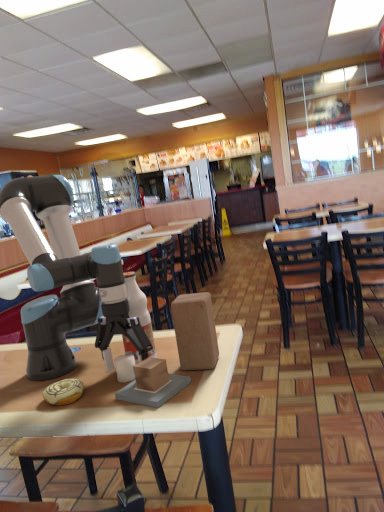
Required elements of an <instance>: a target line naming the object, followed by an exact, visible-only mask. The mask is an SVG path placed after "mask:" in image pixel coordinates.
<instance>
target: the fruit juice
mask: <svg viewBox="0 0 384 512" xmlns="http://www.w3.org/2000/svg"><path fill="white" fill-rule="evenodd" d="M123 274H124V280H125V286H126V291H127V297H126V298H127V299H128V302H129V307H130V311H129V317H130V318H134V317H136V316H138V317H139V321H140V324H141V326H142V328H143V330H144V331H145V333H146V335H147V337H148V339H149V340H150V342H151V344H152V346H153V349H152V350H150V351H148V357H151V358H157V357H158V356H157V349H156V343H155V338H154V332H153V327H152V326H153V325H152V319H151V315H150V312H149V310H148V307H147V305H148V299H147V296H146V294H145V293H144V292H143V291H142V290H141V289H140V287H139V285H138V283H137V279H136V277H137V275H136V272H135V271H126V272H123ZM128 330H129V329H128ZM121 338H122V342H123V348H124V355H125V354H132V355H134V359H135V365H136V364H138V363H139V361H138V355H137V354H139V351H138V350H137V349H136V348H135V346H134V345H133V344H132V343H131V341H130V340H129V339H128V338H127V336H124V335H123V334H121ZM142 349H143V348H142Z"/></svg>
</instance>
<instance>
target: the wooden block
mask: <svg viewBox="0 0 384 512" xmlns="http://www.w3.org/2000/svg"><path fill="white" fill-rule="evenodd" d="M170 304H171V305H170V309H171V316H172V323H173V328H174V333H175V339H176V342H175V343H176V347H177V352H178V358H179V360H178V361H179V365H180V369H181V371H196V370H197V371H198V370H213V369H215V367H216V364H217V362H218V359H219V356H220V350H219V343H218V335H217V329H216V322H215V316H214V309H213V301H212V296H211V293H210V292H208V291H206V292H195V293H184V294H179V295H178V296H176V297H175V299H174V300H173V301H172V302H171V303H170Z"/></svg>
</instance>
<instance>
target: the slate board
mask: <svg viewBox="0 0 384 512" xmlns="http://www.w3.org/2000/svg"><path fill="white" fill-rule="evenodd" d="M168 376H169V382H168V383H166V384H165V385H164V386H162V387H161V388H159V389H158V390H157V391H155V392H153V391H147V390H142V389H137V386H136V381H135V380H132V381H131V382H130V383H128V384H127V385H125V386H124V387H122V388H121V389H119V390H118V391H116V392H114V397H115V400H118V401H119V400H120V401H123V402H128V403H132V404H137V405H142V406H148V407H151V408H157V409H159V408H160V407H161V406H163V405H164V404H165V403H166V402H167V401H169V400H170V399H172V397H174V396H175V395H176V394H178V393H180V391H182V390H183V389H184V388H186V387H187V386H189V384H191V383H192V379H191V376H189V375H183V374H182V375H181V374H174V373H169V372H168Z"/></svg>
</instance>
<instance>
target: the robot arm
mask: <svg viewBox="0 0 384 512" xmlns="http://www.w3.org/2000/svg"><path fill="white" fill-rule="evenodd" d="M74 202H75V197H74V191H73V187H72V185H71V184H70V182H69V180H68V179H67V178H66V177H65V176H63V175H62V174H47V175H46V174H45V175H37V176H25V177H22V176H21V177H17V178H13V179H11V180H8V182H7V183H6V184H4V185H3V186H2V188H1V189H0V217H1V218H2V219H3V220H4V221H5V222H7V223H8V224H9V227H10V229H11V231H12V232H13V234H14V236H15V237H14V238H16V240H17V242H18V244H19V246H20V249H21V250H22V252H23V255H24V256H25V257H26V260H27V261H28V263H29V266H28V267H27V270H26V276H27V280H28V284H29V286H30V288H31V290H33V291H34V292H38V293H39V292H44V291H49V290H53V289H57V288H60V287H62V288H61V290H60V292H59V294H60V297H59V296H58V295H57V294H49V295H43V296H40V297H38V298H35V299H33V300H31V301H28V302H26V303H25V304H23V306H21V309H20V318H21V320H20V322H21V324H22V329H23V332H24V337H25V342H26V346H27V350H28V352H27V353H28V354H27V361H26V369H25V370H26V371H25V372H26V376H27V379H29V380H30V381H45V380H51V379H55V378H58V377H61V376H64V375H66V374H67V373H69V372H71V371H73V370H74V369H75V368H76V367H77V361H76V357H75V355H74V353H73V351H72V349H71V348H70V346H69V344H68V342H67V338H66V334H68V333H71V332H74V331H79V330H82V329H85V328H88V327H92V326H94V325H97V329H96V335H95V340H94V348H96V349H99V351H100V352H101V356H102V357H101V358H102V361H104V362H103V363H104V367H105V368H104V369H105V372H106V373H108V374H109V373H110V372H112V371H115V370H116V367H115V362H114V359H113V353H112V352H113V351H112V349H111V346H110V344H111V342H112V339H113V338H114V335H115V334H118V335H122V334H123V335H124V336H127V338H128V339H129V340H130V341H131V343H132V344H133V345H134V346H135V348H136V349H137V350H138V351H139V354H137V355H138V361H139V362H141V361H143V360H144V359H146V358H148V351H150V350H152V349H153V346H152V344H151V342H150V340H149V339H148V337H147V335H146V333H145V331H144V330H143V328H142V326H141V324H140V321H139V317H138V316H136V317H134V318H130V317H129V311H130V307H129V302H128V299H127V298H126V297H127V291H126V286H125V280H124V274H123V273H124V268H123V264H122V263H123V262H122V255H121V253H120V249H119V246H118V245H117V244H116V243H111V244H103V245H98V246H95V247H92V248H91V250H90V252H89V251H88V252H85V253H83V254H81V251H80V247H79V244H78V241H77V238H76V237H77V236H76V234H75V232H74V227H73V224H72V222H71V217H70V213H71V211H72V206H73V205H74ZM32 212H35V214H36V217H37V218H38V219H39V220H42V221H43V224H44V227H45V231H46V234H47V236H46V235H45V233H44V231H43V230H42V229H41V227H40V225H39V223H38V222H37V220H36V218H35V216H34V214H33V213H32ZM47 237H48V239H47ZM48 240H49V241H48ZM94 279H95V280H96V283H95V282H94V281H93V280H94ZM96 284H97V285H96ZM128 329H129V330H128ZM142 348H143V349H142Z"/></svg>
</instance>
